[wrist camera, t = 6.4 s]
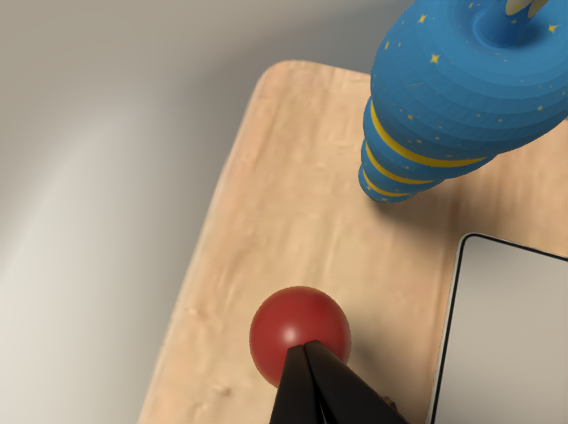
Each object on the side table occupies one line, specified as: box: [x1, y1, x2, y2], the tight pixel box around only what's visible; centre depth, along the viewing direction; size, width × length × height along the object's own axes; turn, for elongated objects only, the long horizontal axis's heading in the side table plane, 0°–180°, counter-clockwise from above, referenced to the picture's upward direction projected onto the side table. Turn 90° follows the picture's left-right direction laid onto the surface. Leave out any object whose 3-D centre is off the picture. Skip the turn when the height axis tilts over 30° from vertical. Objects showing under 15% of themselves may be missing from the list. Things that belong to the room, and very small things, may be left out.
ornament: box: [358, 0, 568, 203], centre depth 13 cm, size 5×5×15 cm
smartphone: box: [425, 232, 568, 424], centre depth 18 cm, size 7×1×15 cm
